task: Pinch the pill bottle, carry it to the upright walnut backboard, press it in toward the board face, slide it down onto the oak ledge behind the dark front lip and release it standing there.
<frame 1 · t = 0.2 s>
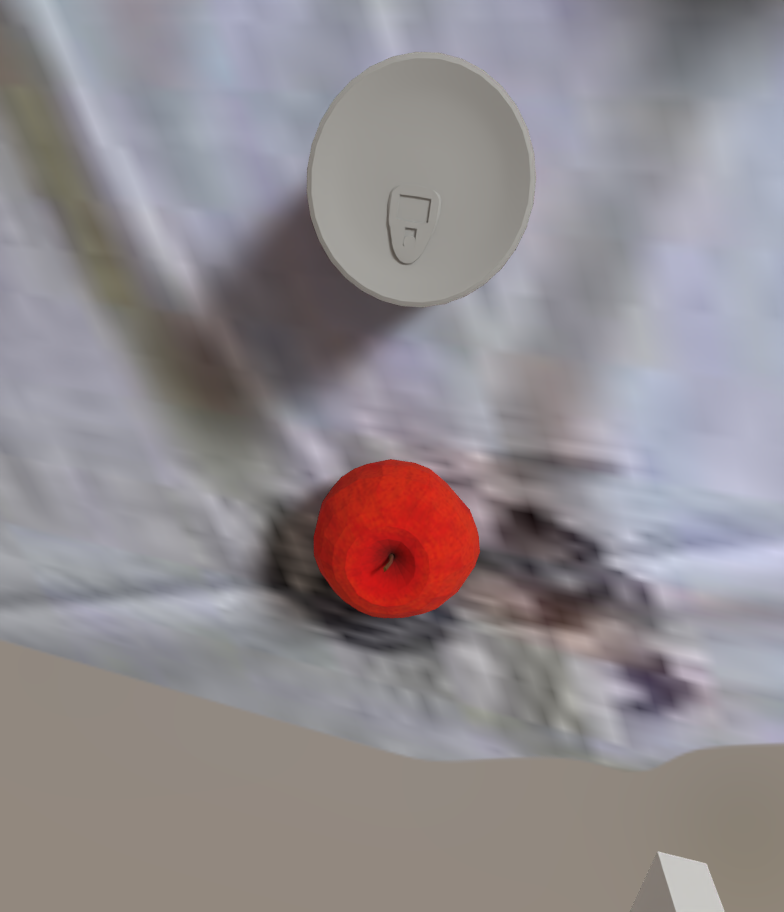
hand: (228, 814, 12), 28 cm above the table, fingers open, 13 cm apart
canned food: (430, 192, 35), on the table
apple: (401, 507, 40), on the table
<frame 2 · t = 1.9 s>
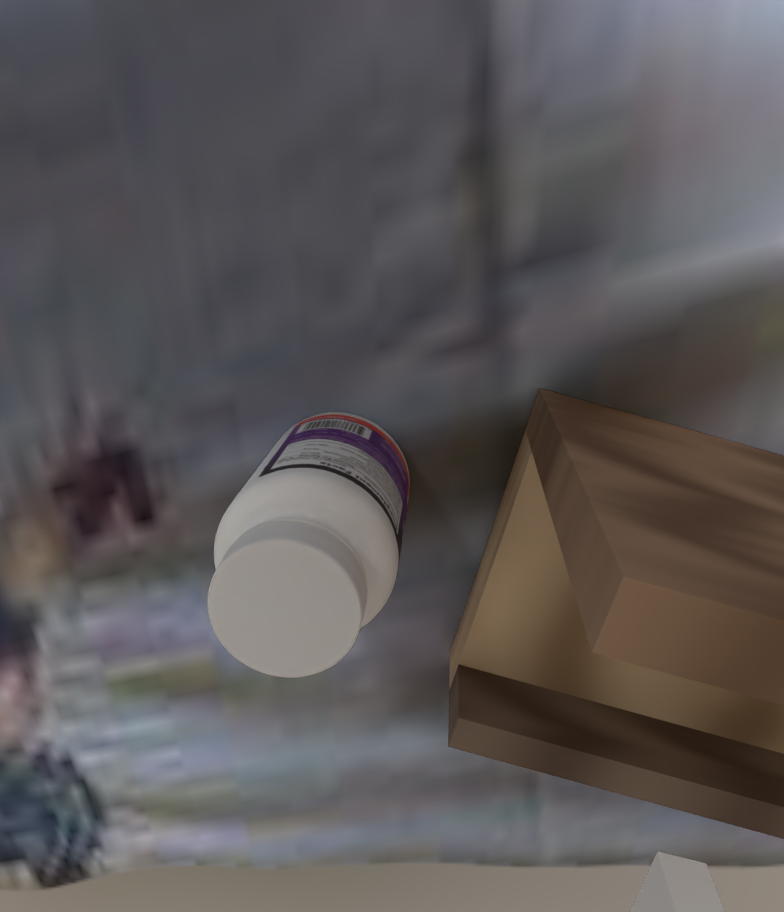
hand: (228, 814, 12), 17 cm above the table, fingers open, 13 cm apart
pill bottle: (341, 476, 28), on the table
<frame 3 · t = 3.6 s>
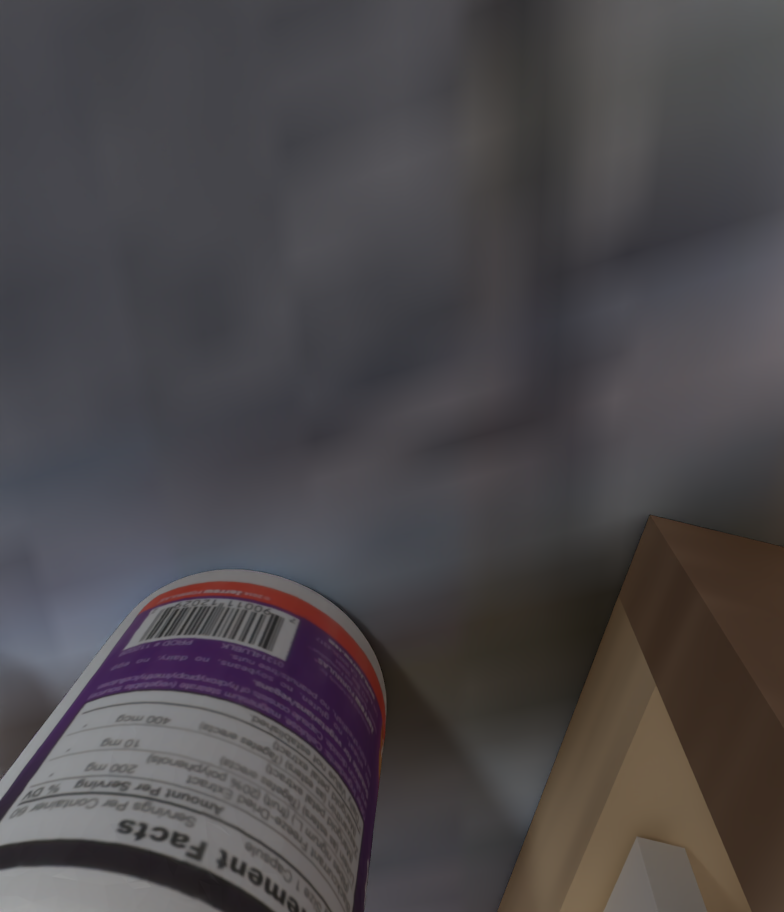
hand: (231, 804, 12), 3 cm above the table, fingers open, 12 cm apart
pill bottle: (254, 679, 14), on the table
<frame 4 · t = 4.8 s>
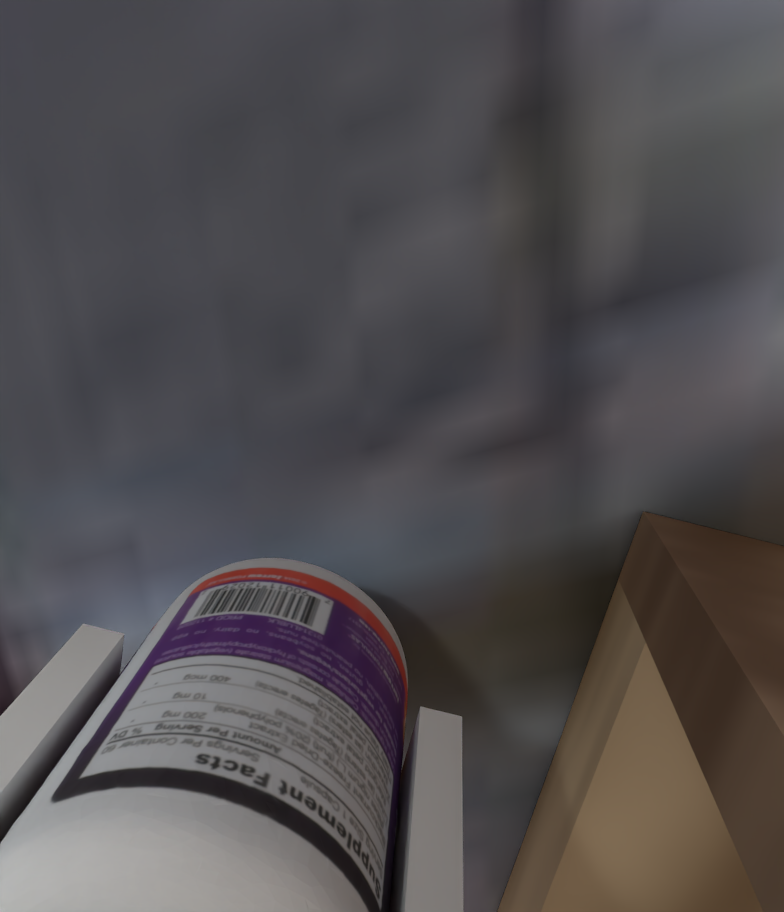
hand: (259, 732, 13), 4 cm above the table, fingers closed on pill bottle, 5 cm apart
pill bottle: (286, 660, 16), point 1 cm above the table, touching gripper
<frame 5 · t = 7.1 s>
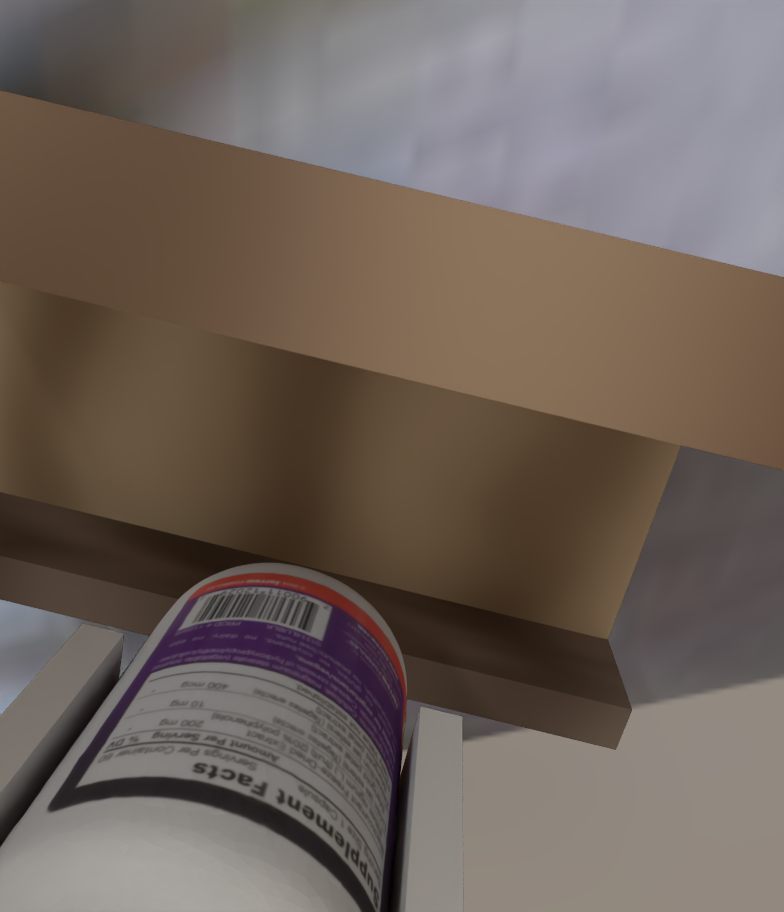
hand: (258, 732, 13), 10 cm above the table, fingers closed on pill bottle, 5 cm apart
cleat board: (334, 207, 20), on the table
pill bottle: (285, 665, 16), point 7 cm above the table, touching gripper
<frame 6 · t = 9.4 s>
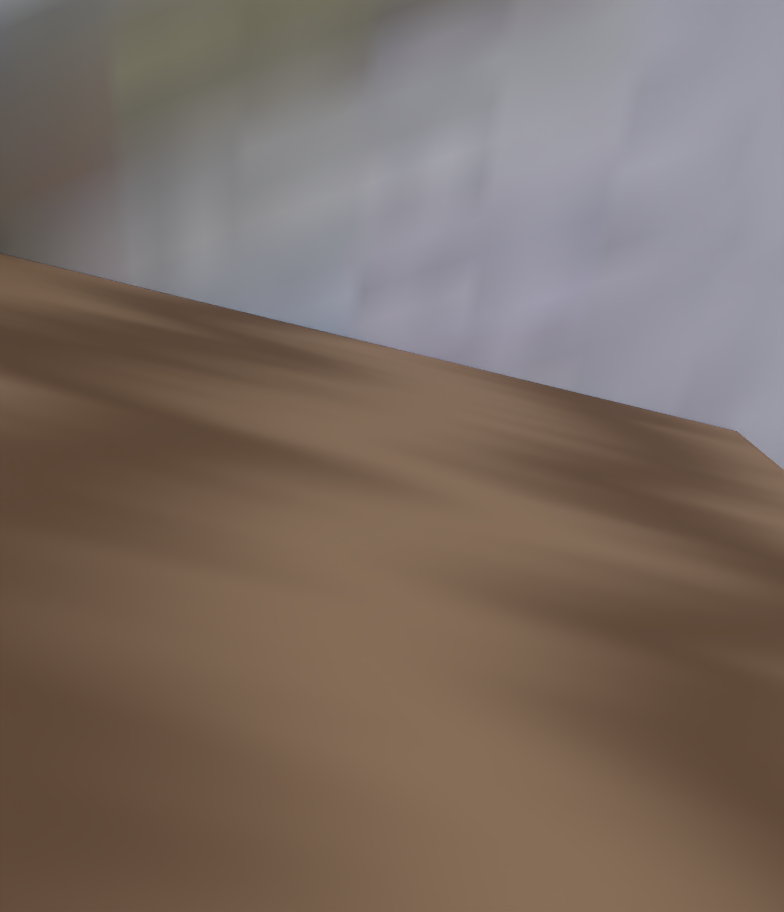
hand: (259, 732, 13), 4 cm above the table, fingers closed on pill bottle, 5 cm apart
cleat board: (258, 354, 15), on the table
when the fingers open (4 cm above the table, at t = 9.4 s): pill bottle stays where it is, resting on cleat board.
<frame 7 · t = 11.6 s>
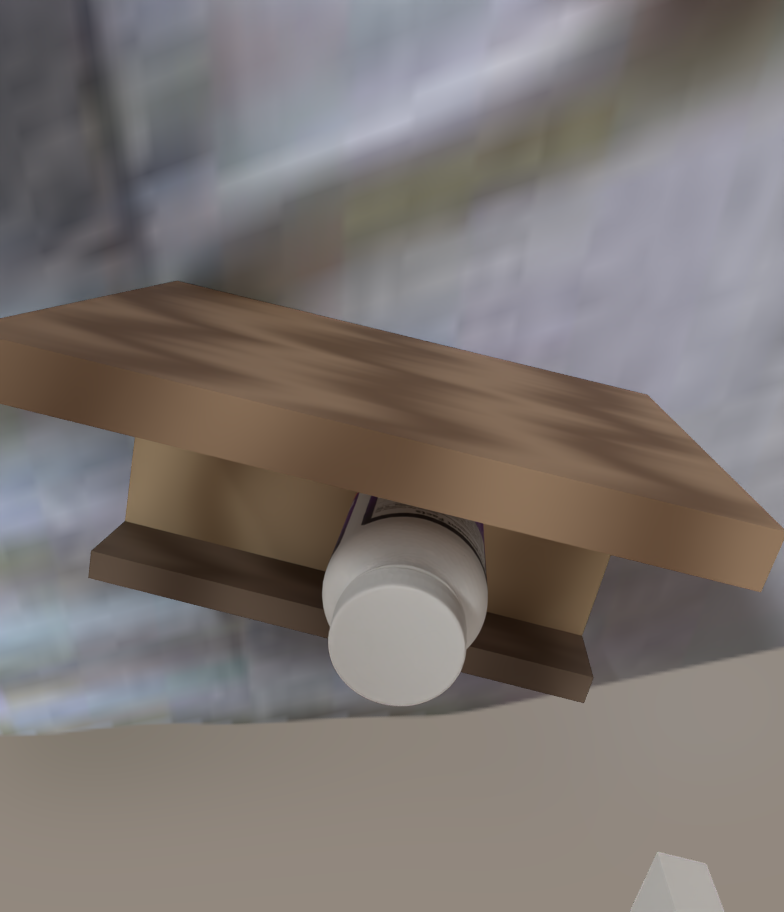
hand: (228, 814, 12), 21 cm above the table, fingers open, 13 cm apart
cleat board: (406, 356, 31), on the table
pill bottle: (418, 515, 30), point 2 cm above the table, touching cleat board
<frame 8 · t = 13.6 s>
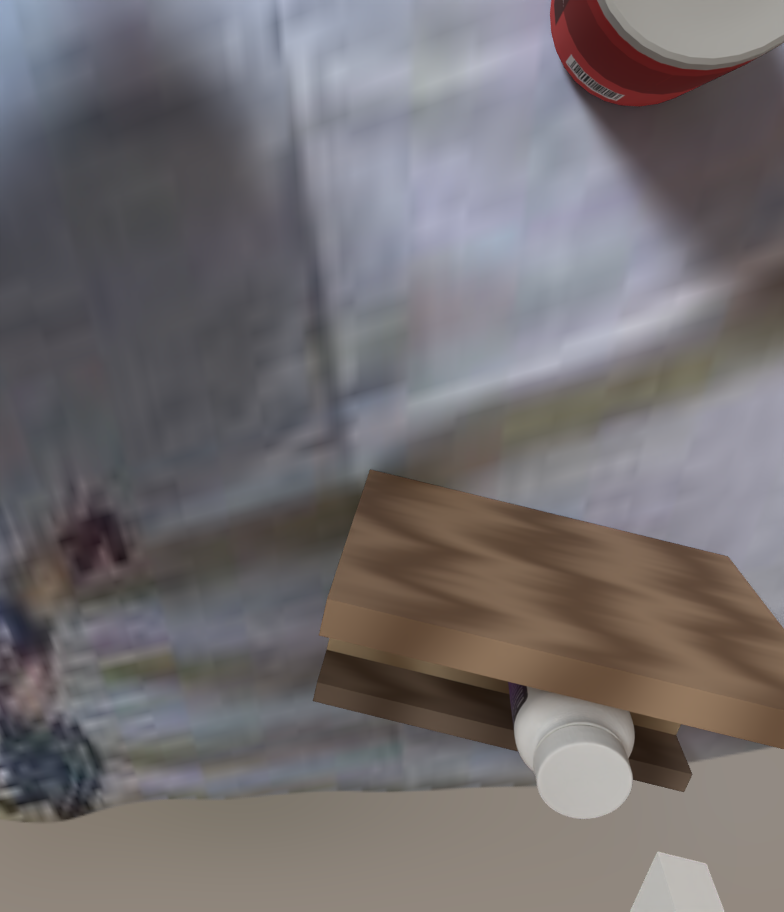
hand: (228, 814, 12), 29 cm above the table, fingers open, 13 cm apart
cleat board: (544, 525, 40), on the table
canned food: (638, 14, 33), on the table
pill bottle: (554, 648, 40), point 2 cm above the table, touching cleat board
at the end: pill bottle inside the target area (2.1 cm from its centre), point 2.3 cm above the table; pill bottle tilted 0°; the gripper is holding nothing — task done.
